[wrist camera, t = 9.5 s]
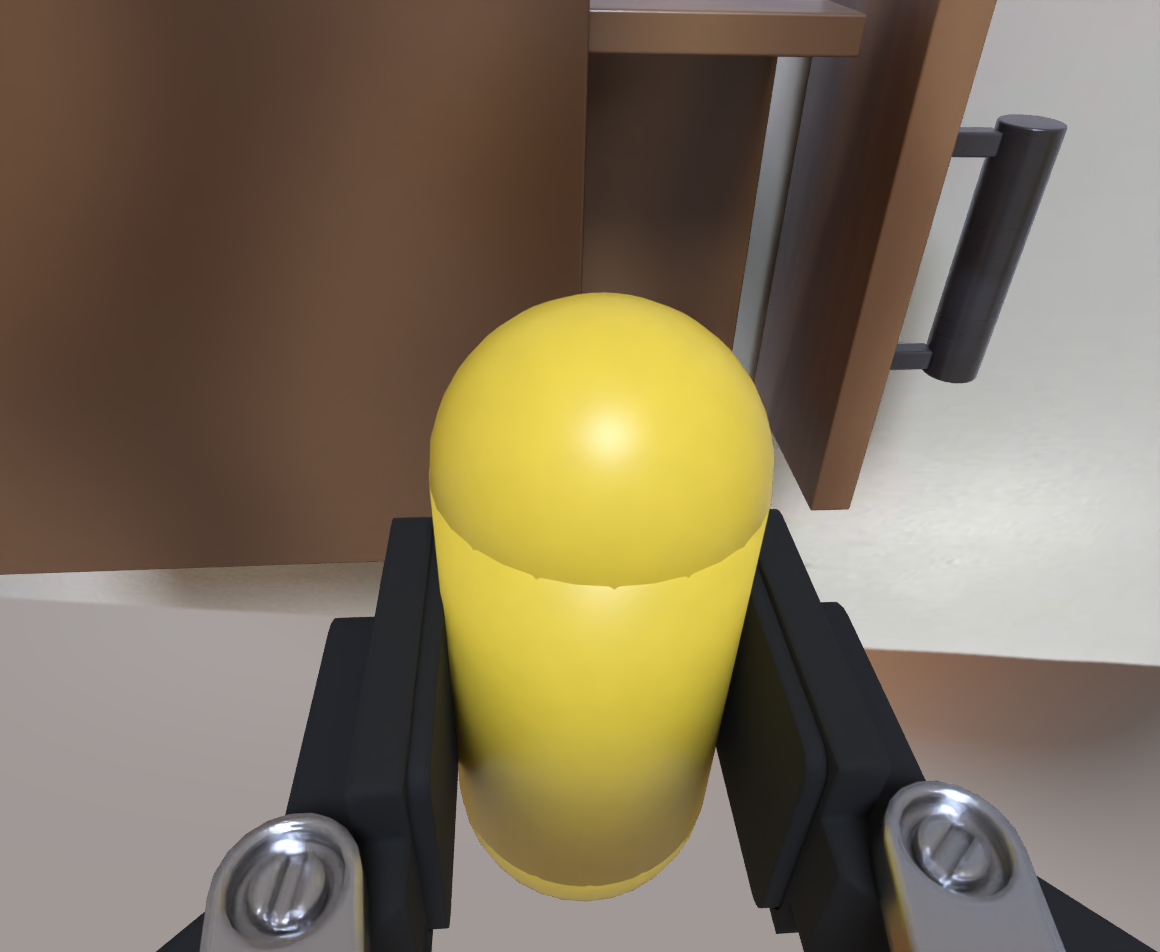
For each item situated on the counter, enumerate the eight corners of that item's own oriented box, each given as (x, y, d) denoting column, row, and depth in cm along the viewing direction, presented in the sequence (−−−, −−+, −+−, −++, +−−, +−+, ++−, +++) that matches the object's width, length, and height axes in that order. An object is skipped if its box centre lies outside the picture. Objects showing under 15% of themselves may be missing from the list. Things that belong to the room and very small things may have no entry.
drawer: (1019, -45, 21) (1197, -20, 16) (890, 390, 29) (979, 506, 24) (270, -64, 20) (183, -43, 14) (349, 400, 28) (312, 526, 22)
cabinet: (561, -86, 21) (592, -70, 14) (557, 398, 29) (574, 555, 23) (-120, -106, 19) (-459, -99, 13) (86, 407, 28) (-48, 577, 21)
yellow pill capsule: (551, 216, 9) (325, 331, 7) (856, 289, 8) (710, 470, 5) (545, 700, 15) (417, 863, 12) (726, 795, 13) (624, 1002, 11)
